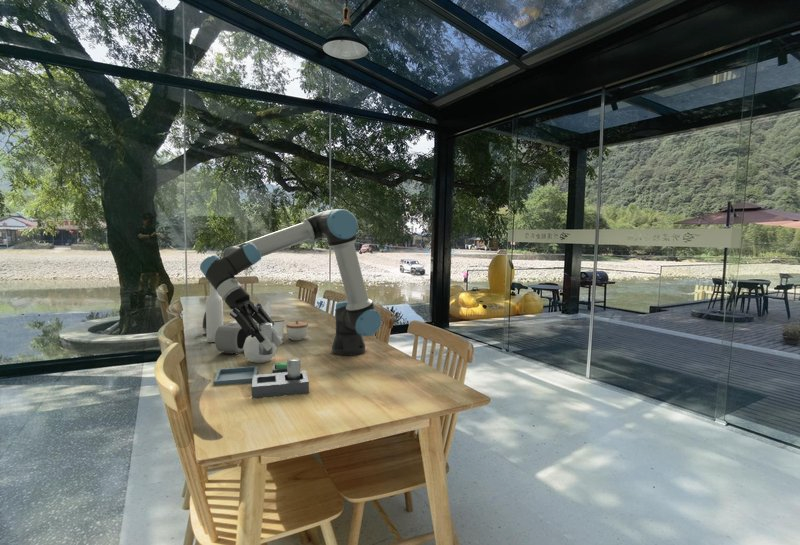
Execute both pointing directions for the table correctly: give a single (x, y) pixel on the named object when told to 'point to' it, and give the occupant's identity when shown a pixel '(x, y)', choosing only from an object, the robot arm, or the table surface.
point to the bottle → (213, 314)
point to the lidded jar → (297, 330)
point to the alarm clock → (231, 338)
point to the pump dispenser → (204, 323)
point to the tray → (235, 375)
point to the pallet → (278, 385)
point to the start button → (281, 365)
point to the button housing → (277, 369)
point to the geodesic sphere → (256, 351)
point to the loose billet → (268, 332)
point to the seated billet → (293, 369)
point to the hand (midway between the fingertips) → (275, 346)
